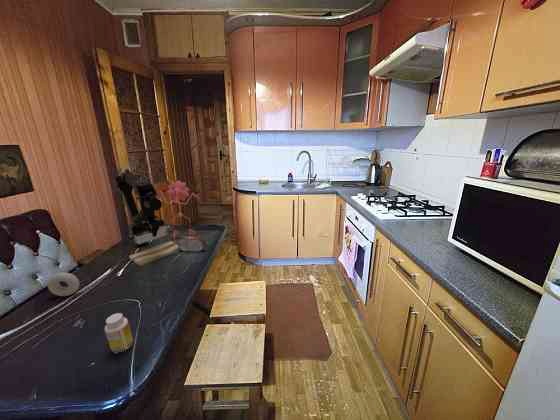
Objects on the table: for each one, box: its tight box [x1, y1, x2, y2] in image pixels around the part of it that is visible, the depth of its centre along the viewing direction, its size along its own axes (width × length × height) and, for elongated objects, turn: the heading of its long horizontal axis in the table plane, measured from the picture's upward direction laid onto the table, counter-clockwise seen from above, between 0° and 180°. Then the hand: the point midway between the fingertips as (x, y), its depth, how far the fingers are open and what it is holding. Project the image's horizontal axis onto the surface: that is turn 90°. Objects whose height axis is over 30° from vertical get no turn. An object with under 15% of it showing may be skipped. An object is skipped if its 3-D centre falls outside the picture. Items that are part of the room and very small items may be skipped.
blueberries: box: [73, 318, 87, 329], centre depth 78 cm, size 7×8×2 cm
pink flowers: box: [156, 180, 202, 241], centre depth 142 cm, size 15×26×35 cm, turn 96°
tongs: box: [134, 224, 175, 244], centre depth 123 cm, size 18×3×4 cm, turn 142°
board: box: [128, 240, 182, 267], centre depth 125 cm, size 13×22×2 cm, turn 142°
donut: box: [47, 272, 80, 297], centre depth 92 cm, size 10×4×10 cm, turn 103°
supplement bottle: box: [104, 312, 134, 354], centre depth 68 cm, size 6×6×10 cm
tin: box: [176, 235, 207, 253], centre depth 126 cm, size 15×3×8 cm, turn 84°
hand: (153, 235), depth 122 cm, fingers closed on tongs, 3 cm apart
